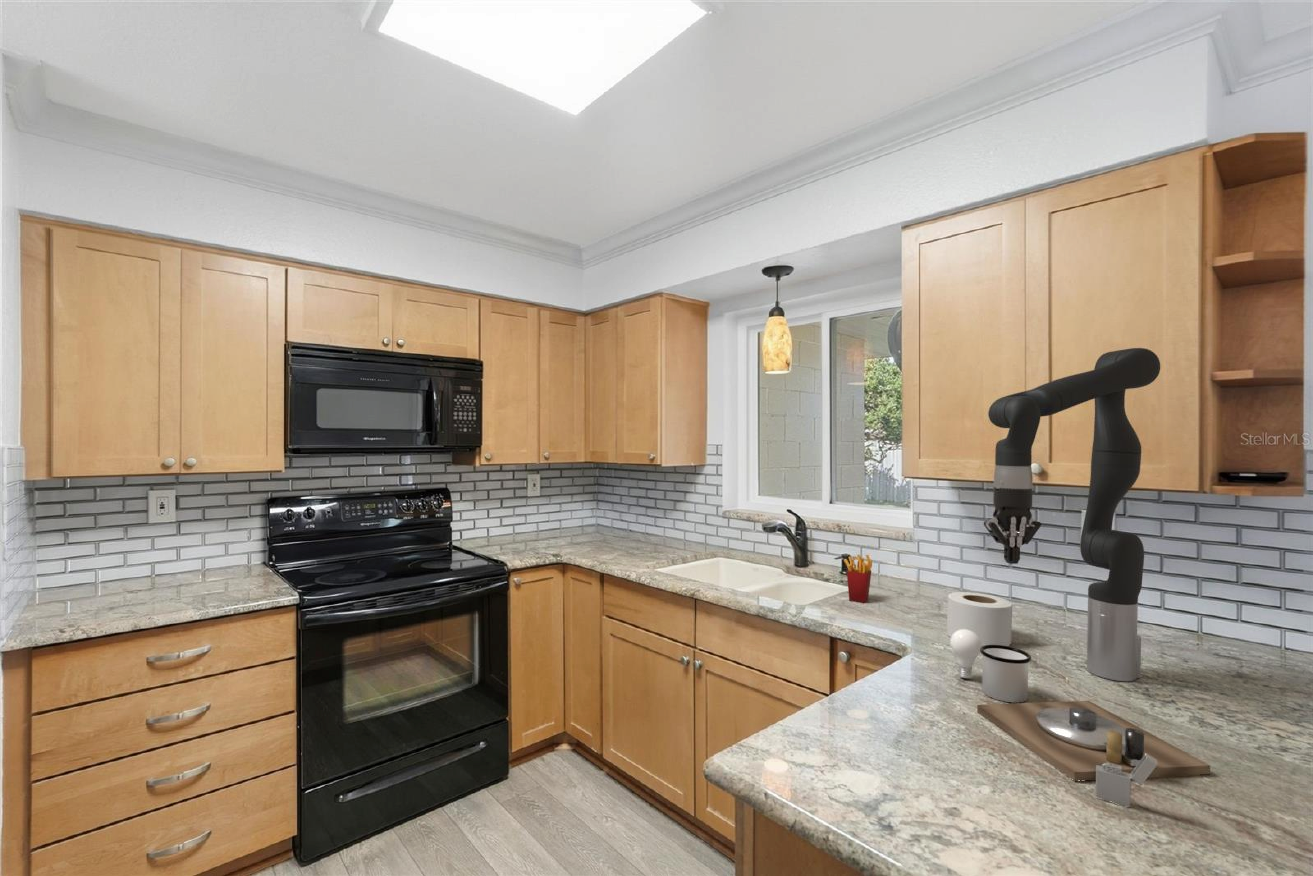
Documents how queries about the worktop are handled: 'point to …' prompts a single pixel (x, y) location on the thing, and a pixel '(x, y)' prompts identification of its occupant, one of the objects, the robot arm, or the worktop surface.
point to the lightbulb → (965, 650)
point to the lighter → (1121, 780)
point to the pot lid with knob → (1090, 731)
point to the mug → (1005, 673)
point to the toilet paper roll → (980, 617)
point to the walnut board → (1081, 760)
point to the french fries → (859, 578)
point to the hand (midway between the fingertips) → (1011, 563)
